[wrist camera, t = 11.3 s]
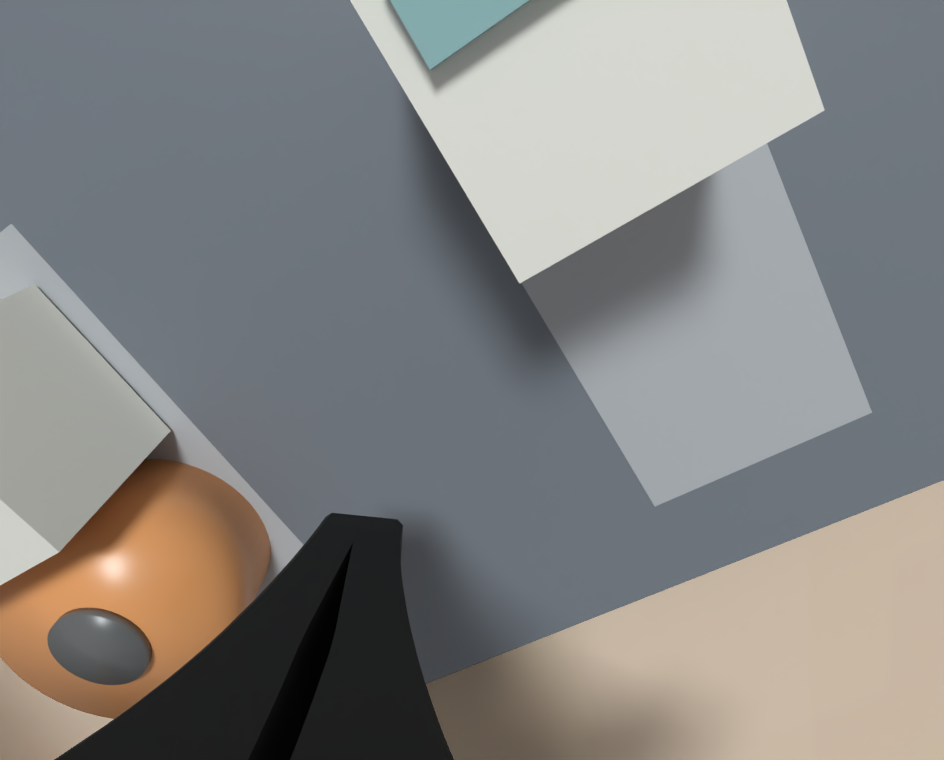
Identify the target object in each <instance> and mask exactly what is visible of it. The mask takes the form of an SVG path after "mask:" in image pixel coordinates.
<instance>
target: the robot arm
mask: <svg viewBox="0 0 944 760" xmlns="http://www.w3.org/2000/svg"><path fill="white" fill-rule="evenodd" d="M402 533H403V525H402V524H401V522H400V521H399V520H398V519H390V518H380V517H370V516H360V515H350V514H340V513H330V514H329V515H328V516H326V517H325V518H324V520H323V521H322V522H321V524H320V525H319V526H318V528H317V529H316V530H315V531H314V533H313V534H312V535H311V537H310V538H309V539H308V540H307V542H306V543H305V544H304V545H303V546H302V548H301V549H300V550H299V551H298V552H297V553H296V555H295V556H294V557H293V558H292V559H291V561H290V562H289V563H288V564H287V565H286V566H285V567H284V568H283V570H282V571H281V572H280V573H279V574H278V575H277V576H276V577H275V578H274V579H273V580H272V582H271V583H270V584H269V585H268V586H267V587H266V588H265V589H264V590H263V591H262V592H261V594H260V595H259V596H258V597H257V598H256V599H255V600H254V601H253V602H252V603H251V604H250V605H249V606H248V607H247V608H246V609H245V610H244V611H243V612H242V613H240V614H239V615H238V616H237V617H236V618H235V619H234V620H233V621H232V622H231V623H230V624H229V625H228V626H227V627H226V628H225V629H224V630H223V631H222V632H221V633H220V634H219V635H218V636H217V637H216V638H214V639H213V640H212V641H211V642H210V643H209V644H208V645H207V646H206V647H204V648H203V649H202V650H201V651H200V652H199V653H198V654H197V655H195V656H194V657H193V658H192V659H191V660H189V661H188V662H187V663H186V664H185V665H184V666H182V667H181V668H180V669H179V670H178V671H176V672H175V673H174V674H173V675H172V676H170V677H169V678H168V679H166V680H165V681H164V682H163V683H161V684H160V685H159V686H157V687H156V688H155V689H154V690H152V691H151V692H150V693H148V694H147V695H146V696H145V697H143V698H142V699H141V700H139V701H138V702H137V703H136V704H134V705H133V706H132V707H130V708H129V709H128V710H126V711H125V712H123V713H122V714H121V715H119V716H118V717H117V718H115V719H114V720H112V721H111V722H110V723H108V724H107V725H105V726H104V727H103V728H101V729H100V730H98V731H97V732H95V733H94V734H92V735H91V736H89V737H88V738H86V739H85V740H83V741H82V742H80V743H79V744H77V745H76V746H74V747H73V748H71V749H70V750H68V751H67V752H65V753H64V754H62V755H61V756H59V757H58V758H56V759H55V760H454V759H453V757H452V754H451V752H450V750H449V747H448V745H447V742H446V740H445V738H444V735H443V733H442V730H441V727H440V725H439V722H438V719H437V716H436V713H435V711H434V708H433V705H432V702H431V699H430V696H429V693H428V690H427V687H426V684H425V681H424V677H423V674H422V670H421V667H420V663H419V660H418V656H417V652H416V648H415V644H414V640H413V636H412V632H411V628H410V623H409V618H408V613H407V607H406V601H405V595H404V589H403V582H402V574H401V550H402Z"/></svg>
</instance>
